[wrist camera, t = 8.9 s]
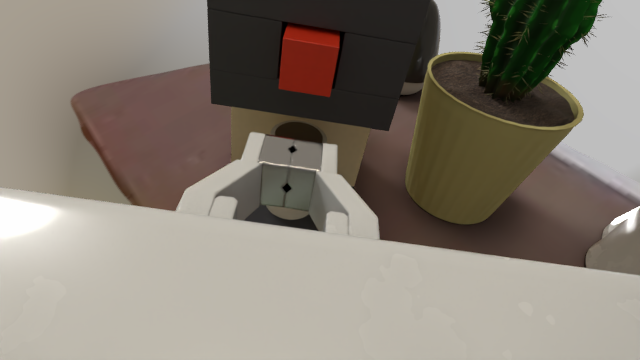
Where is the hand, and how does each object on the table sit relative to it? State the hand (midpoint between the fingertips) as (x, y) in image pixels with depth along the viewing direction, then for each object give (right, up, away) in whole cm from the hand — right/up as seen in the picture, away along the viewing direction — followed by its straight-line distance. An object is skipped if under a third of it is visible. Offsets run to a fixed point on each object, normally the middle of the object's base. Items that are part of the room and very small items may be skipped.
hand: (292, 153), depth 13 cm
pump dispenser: (+14, +15, +55) cm, 58 cm away
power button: (0, +6, +15) cm, 16 cm away
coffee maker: (-2, -2, +31) cm, 31 cm away
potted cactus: (+17, -2, +35) cm, 39 cm away
